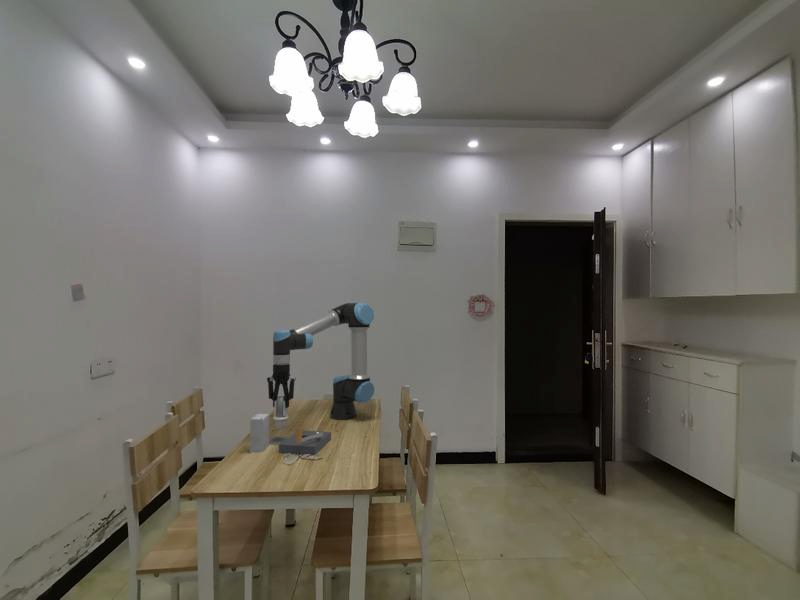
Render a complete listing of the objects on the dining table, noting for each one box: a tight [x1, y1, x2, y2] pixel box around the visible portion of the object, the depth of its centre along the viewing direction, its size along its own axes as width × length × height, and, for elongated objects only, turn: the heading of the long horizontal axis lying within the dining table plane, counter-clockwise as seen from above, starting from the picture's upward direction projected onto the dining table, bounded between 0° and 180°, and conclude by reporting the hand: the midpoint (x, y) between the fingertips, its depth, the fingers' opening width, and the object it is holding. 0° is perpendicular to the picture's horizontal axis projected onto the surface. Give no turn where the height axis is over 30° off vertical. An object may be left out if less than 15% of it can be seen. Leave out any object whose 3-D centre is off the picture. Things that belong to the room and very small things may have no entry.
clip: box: [295, 426, 323, 443], centre depth 171 cm, size 5×14×6 cm, turn 138°
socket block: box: [278, 429, 332, 456], centre depth 177 cm, size 20×16×6 cm
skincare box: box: [249, 413, 270, 454], centre depth 173 cm, size 8×6×15 cm
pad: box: [269, 436, 288, 446], centre depth 183 cm, size 10×10×1 cm
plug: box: [272, 395, 289, 430], centre depth 183 cm, size 7×7×14 cm
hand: (280, 414), depth 183 cm, fingers closed on plug, 3 cm apart
